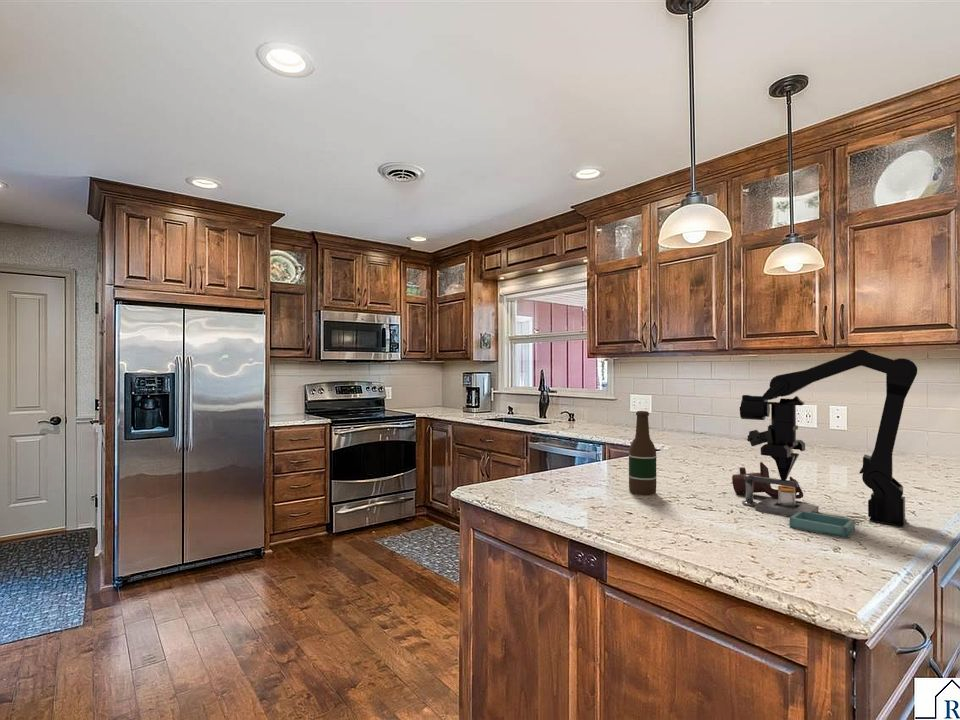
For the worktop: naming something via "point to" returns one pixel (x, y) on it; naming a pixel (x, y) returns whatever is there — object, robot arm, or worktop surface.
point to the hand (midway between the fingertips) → (783, 479)
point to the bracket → (759, 483)
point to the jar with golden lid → (786, 496)
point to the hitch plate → (775, 504)
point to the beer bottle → (642, 459)
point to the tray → (822, 524)
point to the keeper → (770, 480)
